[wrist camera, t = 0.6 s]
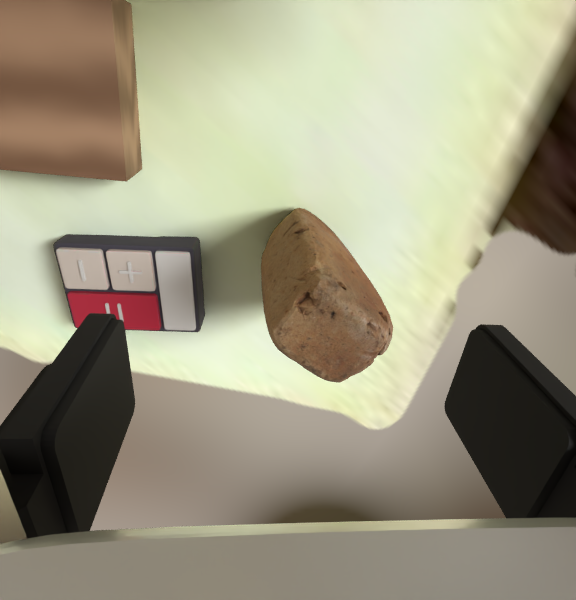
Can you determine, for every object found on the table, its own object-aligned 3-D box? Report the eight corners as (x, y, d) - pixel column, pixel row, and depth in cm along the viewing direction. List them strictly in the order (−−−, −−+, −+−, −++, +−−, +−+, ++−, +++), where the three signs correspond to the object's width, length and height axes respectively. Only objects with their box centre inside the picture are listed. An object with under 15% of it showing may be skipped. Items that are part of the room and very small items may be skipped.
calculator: (47, 245, 41) (192, 250, 41) (67, 231, 45) (200, 236, 45) (71, 332, 46) (199, 336, 47) (87, 313, 50) (205, 317, 50)
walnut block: (-41, -21, 33) (-97, -40, 28) (132, 4, 34) (110, -9, 29) (0, 154, 40) (-39, 165, 34) (142, 168, 41) (126, 181, 36)
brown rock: (254, 243, 46) (252, 342, 28) (297, 194, 43) (325, 271, 26) (319, 295, 50) (353, 410, 32) (362, 253, 47) (424, 354, 30)
